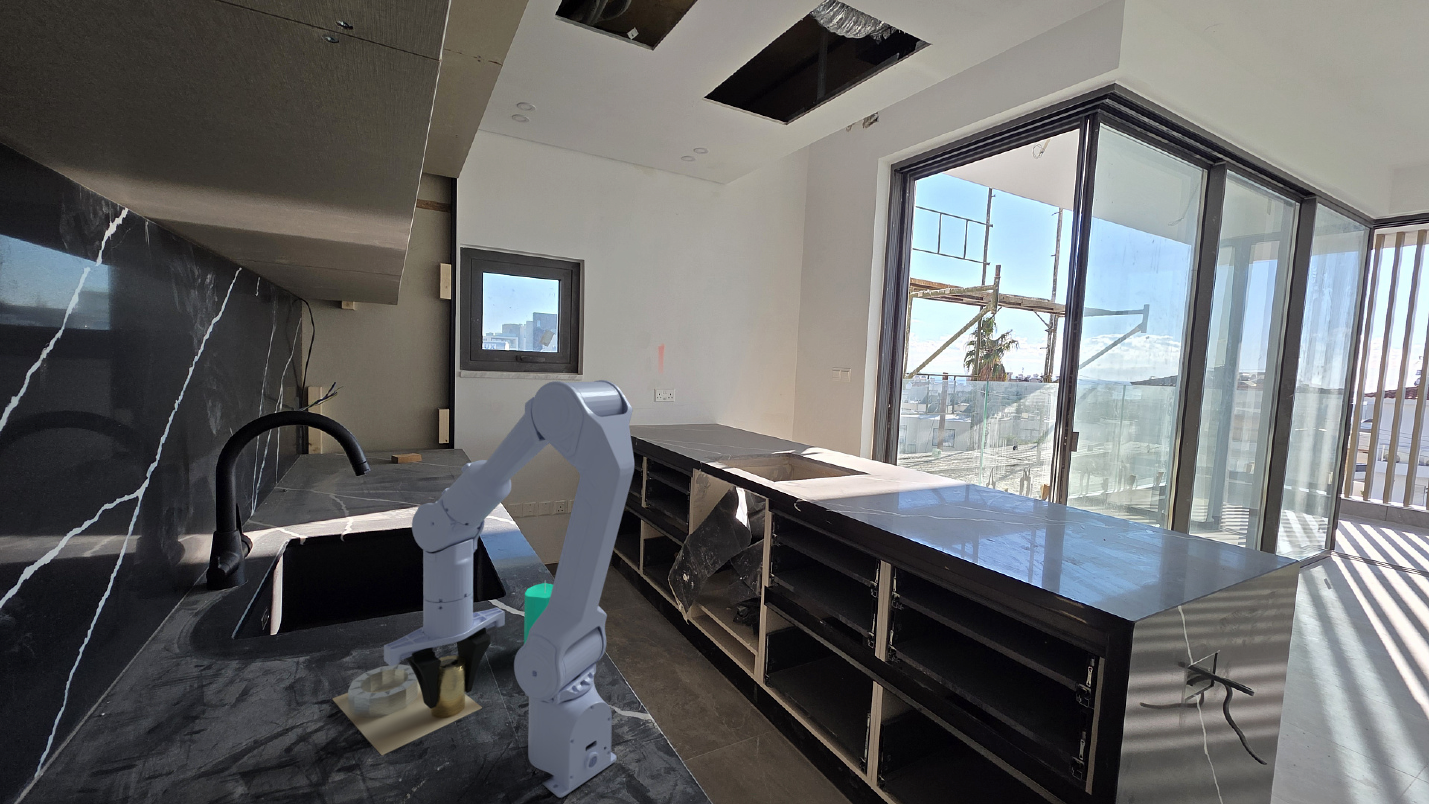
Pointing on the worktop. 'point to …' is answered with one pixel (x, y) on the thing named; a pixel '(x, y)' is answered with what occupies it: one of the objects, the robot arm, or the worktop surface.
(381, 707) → the bore collar
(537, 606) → the candle
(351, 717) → the jig plate
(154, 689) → the worktop surface
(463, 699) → the brass sleeve
